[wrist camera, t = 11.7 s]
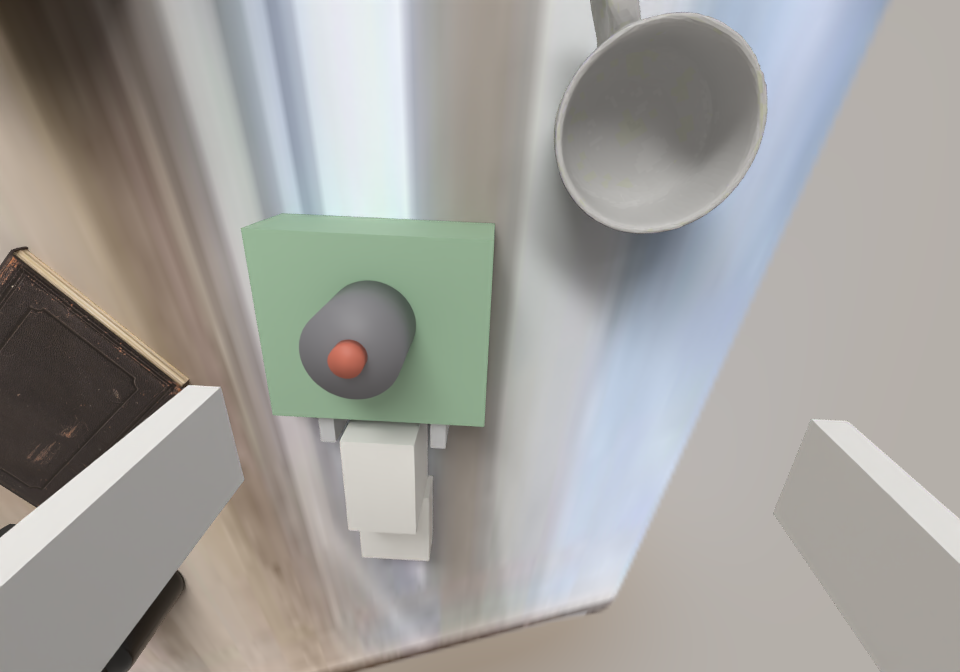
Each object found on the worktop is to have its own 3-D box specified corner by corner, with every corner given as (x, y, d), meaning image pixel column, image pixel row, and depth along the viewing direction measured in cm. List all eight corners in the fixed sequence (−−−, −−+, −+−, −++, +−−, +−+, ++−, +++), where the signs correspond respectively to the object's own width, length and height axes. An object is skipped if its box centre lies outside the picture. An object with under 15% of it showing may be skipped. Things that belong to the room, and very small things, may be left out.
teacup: (705, 195, 33) (766, 213, 25) (555, 227, 34) (571, 253, 26) (700, -41, 27) (775, -106, 20) (521, 8, 28) (530, -36, 21)
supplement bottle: (111, 567, 51) (4, 686, 40) (155, 547, 49) (56, 666, 38) (156, 604, 53) (67, 727, 42) (199, 586, 51) (118, 709, 40)
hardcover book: (198, 377, 41) (181, 390, 39) (72, 501, 47) (53, 518, 45) (32, 243, 36) (3, 250, 34) (-81, 401, 43) (-111, 415, 41)
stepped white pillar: (432, 536, 47) (422, 599, 41) (369, 532, 47) (349, 594, 41) (432, 396, 40) (420, 445, 34) (359, 392, 40) (332, 441, 34)
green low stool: (494, 223, 34) (493, 265, 23) (484, 415, 41) (479, 518, 30) (282, 213, 34) (179, 250, 23) (307, 405, 41) (238, 504, 30)
